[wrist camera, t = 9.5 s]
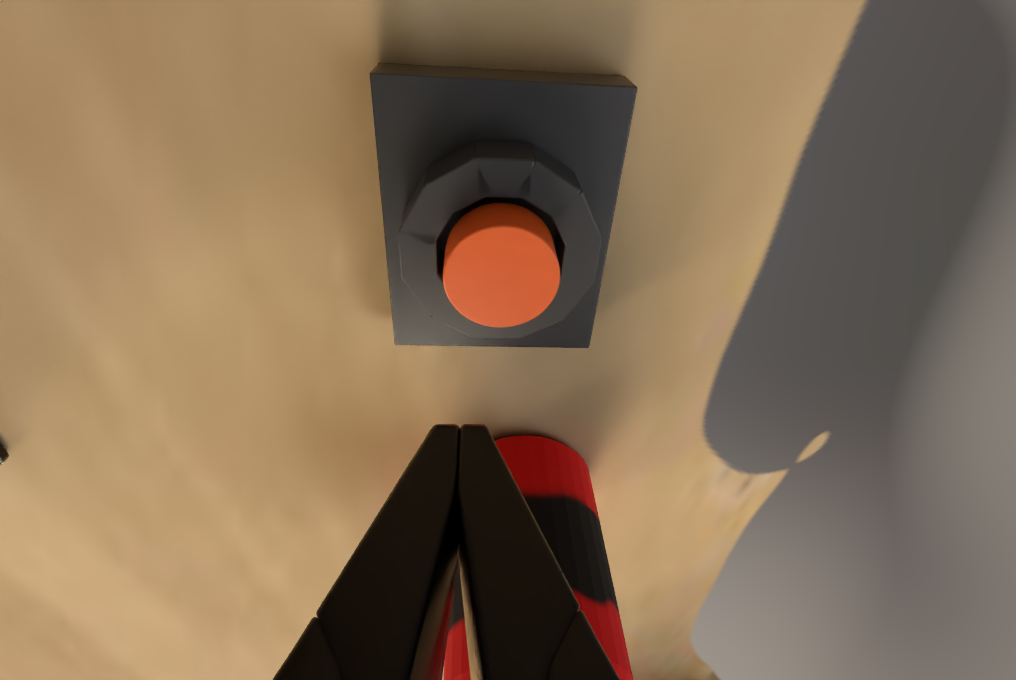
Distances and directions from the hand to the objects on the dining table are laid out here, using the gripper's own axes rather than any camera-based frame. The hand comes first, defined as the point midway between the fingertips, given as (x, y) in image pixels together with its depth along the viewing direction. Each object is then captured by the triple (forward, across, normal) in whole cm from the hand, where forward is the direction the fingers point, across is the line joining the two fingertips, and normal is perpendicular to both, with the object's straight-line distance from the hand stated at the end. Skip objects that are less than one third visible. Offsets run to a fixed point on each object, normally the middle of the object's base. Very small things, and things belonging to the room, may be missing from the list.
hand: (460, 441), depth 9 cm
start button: (+10, -1, +2) cm, 10 cm away
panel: (+13, -1, +2) cm, 13 cm away
